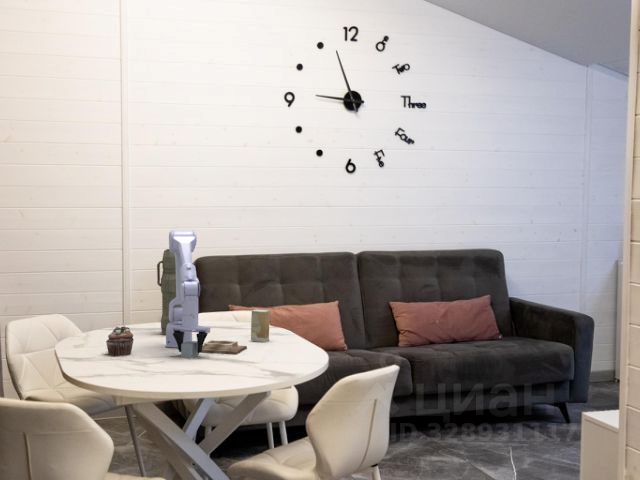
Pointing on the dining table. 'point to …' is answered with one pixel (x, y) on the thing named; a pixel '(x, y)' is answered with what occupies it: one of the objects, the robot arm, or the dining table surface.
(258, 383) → the dining table surface
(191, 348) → the key block
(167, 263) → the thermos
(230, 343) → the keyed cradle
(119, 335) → the cupcake
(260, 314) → the skincare box
